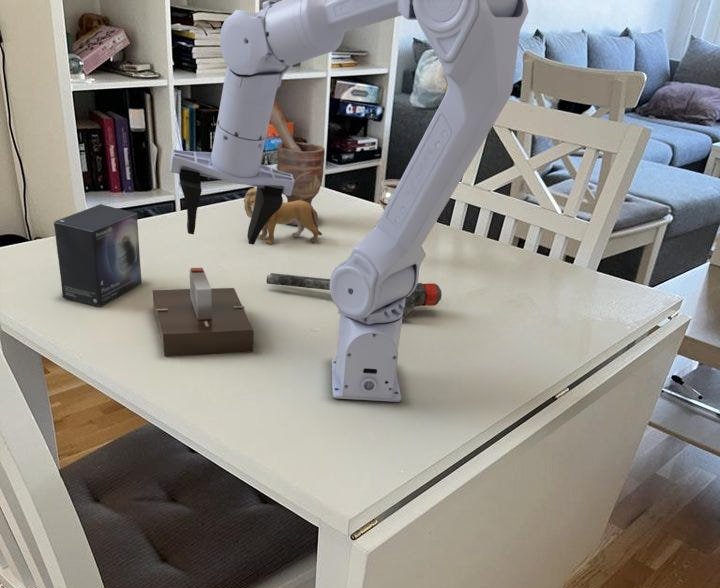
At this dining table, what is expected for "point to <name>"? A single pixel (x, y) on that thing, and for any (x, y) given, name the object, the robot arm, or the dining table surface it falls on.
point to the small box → (98, 254)
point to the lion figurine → (285, 217)
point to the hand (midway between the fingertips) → (220, 235)
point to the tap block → (201, 324)
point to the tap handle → (200, 294)
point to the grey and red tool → (418, 297)
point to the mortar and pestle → (298, 161)
